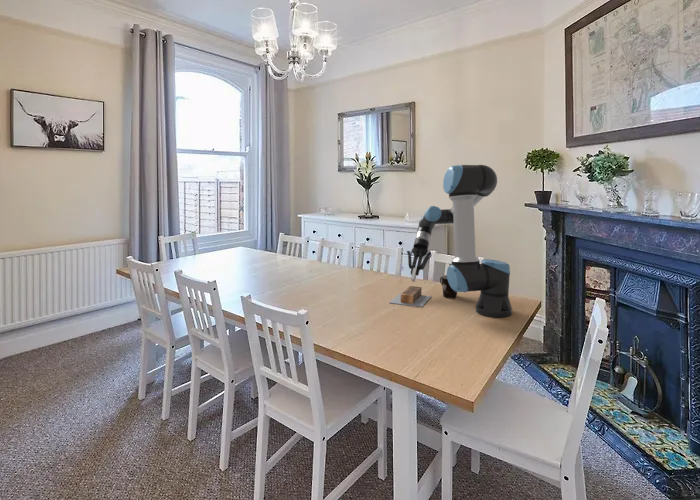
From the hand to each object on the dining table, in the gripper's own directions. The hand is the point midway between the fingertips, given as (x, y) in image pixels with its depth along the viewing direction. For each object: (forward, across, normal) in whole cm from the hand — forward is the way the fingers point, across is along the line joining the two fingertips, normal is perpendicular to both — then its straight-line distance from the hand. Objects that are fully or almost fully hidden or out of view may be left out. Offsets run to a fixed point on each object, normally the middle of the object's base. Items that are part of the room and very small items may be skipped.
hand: (412, 280), depth 200 cm
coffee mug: (-1, -16, -14) cm, 21 cm away
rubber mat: (+9, 0, -4) cm, 10 cm away
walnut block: (+1, 0, -9) cm, 9 cm away
